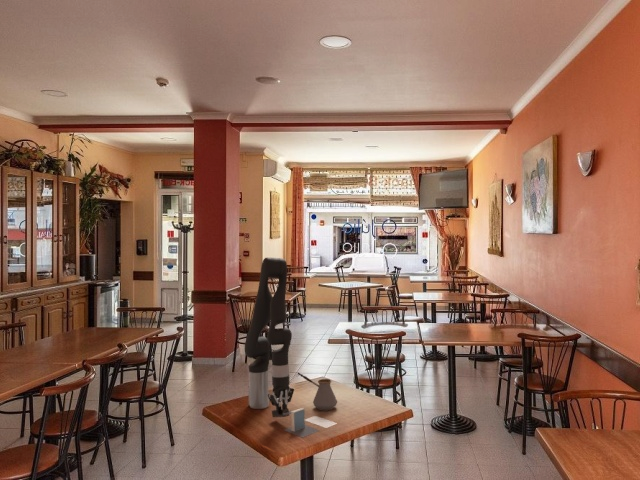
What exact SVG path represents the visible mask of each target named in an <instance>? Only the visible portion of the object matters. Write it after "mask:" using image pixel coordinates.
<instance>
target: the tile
mask: <svg viewBox="0 0 640 480" xmlns="http://www.w3.org/2000/svg"><path fill="white" fill-rule="evenodd" d="M293 410H294V411H291V414H290V416H291V427H292V431H297V430H300V429H302V428H305V425H306V424H305V423H306V421H305V419H306V416H305V415H306V413H305V408H304V407H301V408H298V409H293Z"/></svg>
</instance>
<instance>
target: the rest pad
mask: <svg viewBox="0 0 640 480" xmlns="http://www.w3.org/2000/svg"><path fill="white" fill-rule="evenodd" d="M305 422H307V423H311V424H313V425H317V426H318V427H321V428H325V429H327V428H330V427H332V426H335V425H337V424H338V423H337V422H334V421H332V420H328V419H326V418H323V417H320V416H317V415H314V416H310V417H307V418H305Z"/></svg>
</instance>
